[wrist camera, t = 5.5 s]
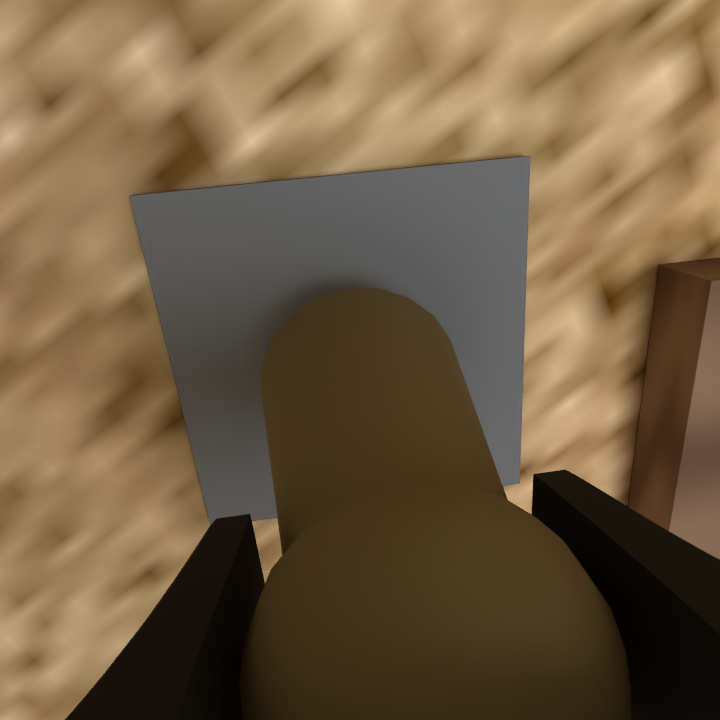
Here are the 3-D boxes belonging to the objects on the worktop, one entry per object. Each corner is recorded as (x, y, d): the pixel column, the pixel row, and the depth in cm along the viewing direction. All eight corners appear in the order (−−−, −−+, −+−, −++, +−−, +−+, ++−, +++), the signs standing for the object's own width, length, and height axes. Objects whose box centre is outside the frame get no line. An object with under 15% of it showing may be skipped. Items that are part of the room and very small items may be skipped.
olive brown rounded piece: (359, 498, 17) (438, 989, 7) (217, 389, 15) (56, 865, 5) (496, 379, 16) (817, 773, 6) (361, 242, 14) (511, 498, 4)
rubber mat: (514, 476, 21) (519, 483, 20) (213, 518, 20) (210, 526, 20) (523, 156, 16) (530, 156, 16) (134, 194, 16) (129, 196, 15)
